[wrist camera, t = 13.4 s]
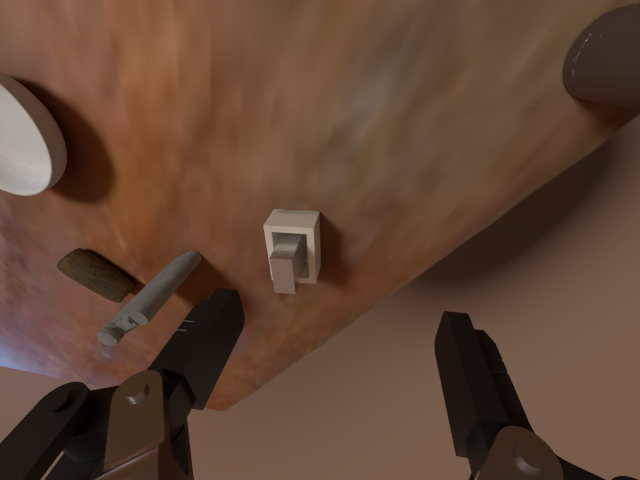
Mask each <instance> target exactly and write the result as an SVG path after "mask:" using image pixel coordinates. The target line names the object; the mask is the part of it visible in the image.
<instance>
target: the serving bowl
mask: <svg viewBox="0 0 640 480" xmlns="http://www.w3.org/2000/svg"><path fill="white" fill-rule="evenodd" d="M66 164H67V150H66V145H65V141H64V138H63V135H62V133H61V131H60V129H59V127H58V125H57V123H56V121H55V120H54V118H53V117H52V115H51V114H50V112H49V111H48V110H47V109H46V107H45V106H44V105H43V104H42V103H41V102H40V101H39V100H38V99H37V98H36V97H35V96H34V95H33V94H32V93H31V92H30V91H29V90H28V89H26V88H25V87H24V86H23V85H21V84H20V83H19V82H17V81H16V80H14V79H13V78H11V77H9V76H8V75H6V74H4V73H2V72H0V189H2V190H4V191H7V192H9V193H13V194H17V195H24V196H31V195H37V194H40V193H42V192H44V191H45V190H47V189H49V188H50V187H52V186H53V185H54V184H56V183H57V182H58V181H59V179H60V178H61V177H62V175H63V173H64V171H65V168H66Z"/></svg>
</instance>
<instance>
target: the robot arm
mask: <svg viewBox="0 0 640 480" xmlns="http://www.w3.org/2000/svg"><path fill="white" fill-rule="evenodd" d="M563 81H564V85H565V87H566V89H567V91H568V92H569V93H570V94H571V95H572V96H574V97H576V98H578V99H582V100H586V101H592V102H597V103H602V104H606V105H612V106H617V107H622V108H628V109H633V110H639V111H640V3H637V4H632V5H628V6H624V7H620V8H617V9H615V10H613V11H610V12H608V13H606V14H605V15H603V16H601V17H600V18H598V19H597V20H595V21H594V22H593V23H592V24H591V25H589V26H588V27H587V28H586V29H585V30H584V31H583V32H582V33H581V35H580V36H579V37H578V38H577V39H576V41H575V42H574V44H573V45H572V47H571V48H570V50H569V53H568V55H567V57H566V59H565V63H564V67H563ZM244 320H245V317H244V312H243V308H242V304H241V300H240V297H239V293H238V291H237V290H232V289H221V288H218V289H217V290H215V292H214V293H213V295H212V296H211V297H210V299H209V300H203V301H202V302H200V303H199V304H198V305H197V306H195V307H194V308H193V309H192V310H191V311H190V313H189V314H188V315H187V317H186V318H185V319H184V322H182V323H181V325H180V326H179V328H178V330H177V331H176V332H175V333H174V334H173V336H172V337H171V338H170V340H169V341H168V343H167V344H166V345H165V347H164V348H163V349H162V351H161V352H160V353H159V355H158V356H157V358H156V359H155V360H154V362H153V363H152V364H151V366H150V367H149V368H148V369H147V370H144V371H140V372H138V373H136V374H134V375H132V376H130V377H129V378H127V379H126V380H125V381H124V382H123V383H122V384H121V385H119V386H113V387H108V388H103V389H97V390H91V391H90V390H89V388H88V387H87V386H86V385H85V384H84V383H82V382H71V383H67V384H64V385H62V386H60V387H58V388H56V389H54V390H53V391H51V392H50V393H48V394H47V395H46V396H45V397H43V399H41V400H40V401H39V402H38V403H37V405H36V406H35V407H34V408H33V409H32V410H31V411H30V412H29V413H28V414H27V415H26V416H25V417H24V419H23V420H22V421H21V422H20V423H19V424H18V425H17V426H16V427H15V428H14V429H13V430H12V432H11V433H10V434H9V435H8V436H7V437H6V438H5V439H4V440H3V441H2V442H1V443H0V480H40V479H41V478H42V477H43V475H44V474H45V473H46V471H47V470H48V469H49V467H50V466H51V465H52V463H53V462H54V461H55V459H56V458H57V457H58V455H59V454H60V453H61V451H63V452H64V454H63V455H62V457H61V458H60V459H59V461H58V462H57V464H56V465H55V466H54V467H53V469H52V470H51V471H50V473H49V474H48V476H47V477H46V478H45V480H194V476H193V467H192V458H191V450H190V440H189V430H188V422H187V416H188V414H189V413H190V411H191V409H198V410H203V409H204V407H205V405H206V403H207V401H208V399H209V397H210V395H211V393H212V391H213V389H214V387H215V384H216V382H217V380H218V378H219V376H220V374H221V372H222V370H223V368H224V366H225V364H226V362H227V360H228V358H229V356H230V354H231V352H232V350H233V348H234V346H235V344H236V342H237V340H238V338H239V336H240V334H241V332H242V329H243V326H244ZM435 355H436V360H437V365H438V370H439V375H440V380H441V385H442V390H443V394H444V399H445V404H446V409H447V414H448V419H449V424H450V428H451V433H452V438H453V443H454V448H455V453H456V456H460V457H466V458H468V460H469V464H470V468H471V473H470V475H469V477H468V479H467V480H605V479H603V478H601V477H599V476H597V475H594V474H592V473H590V472H588V471H586V470H584V469H582V468H579V467H577V466H575V465H573V464H571V463H569V462H567V461H565V460H563V459H562V458H560V457H559V456H557V455H556V454H555V453H554V452H553V450H552V449H551V448H550V447H549V446H548V445H547V443H546V442H545V441H543V440H542V439H541V438H540V437H539V436H537V435H536V434H535V433H534V431H533V429H532V428H531V426H530V424H529V421H528V419H527V417H526V414H525V412H524V409H523V407H522V405H521V402H520V400H519V398H518V395H517V393H516V391H515V389H514V386H513V384H512V381H511V379H510V377H509V375H508V374H507V370H506V367H505V365H504V362H502V358H501V355H500V353H499V351H498V348H497V346H496V344H495V343H494V342H493V340H492V339H491V338H490V337H489V336H488V335H487V334H486V333H485V331H484V330H475V329H474V328H473V325H472V322H471V320H470V317H469V315H468V314H467V313H457V312H447V311H444V312H443V315H442V318H441V321H440V324H439V328H438V331H437V334H436V338H435ZM612 480H637V479H635V478H631V477H627V476H618V477H616V478H613V479H612Z"/></svg>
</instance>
